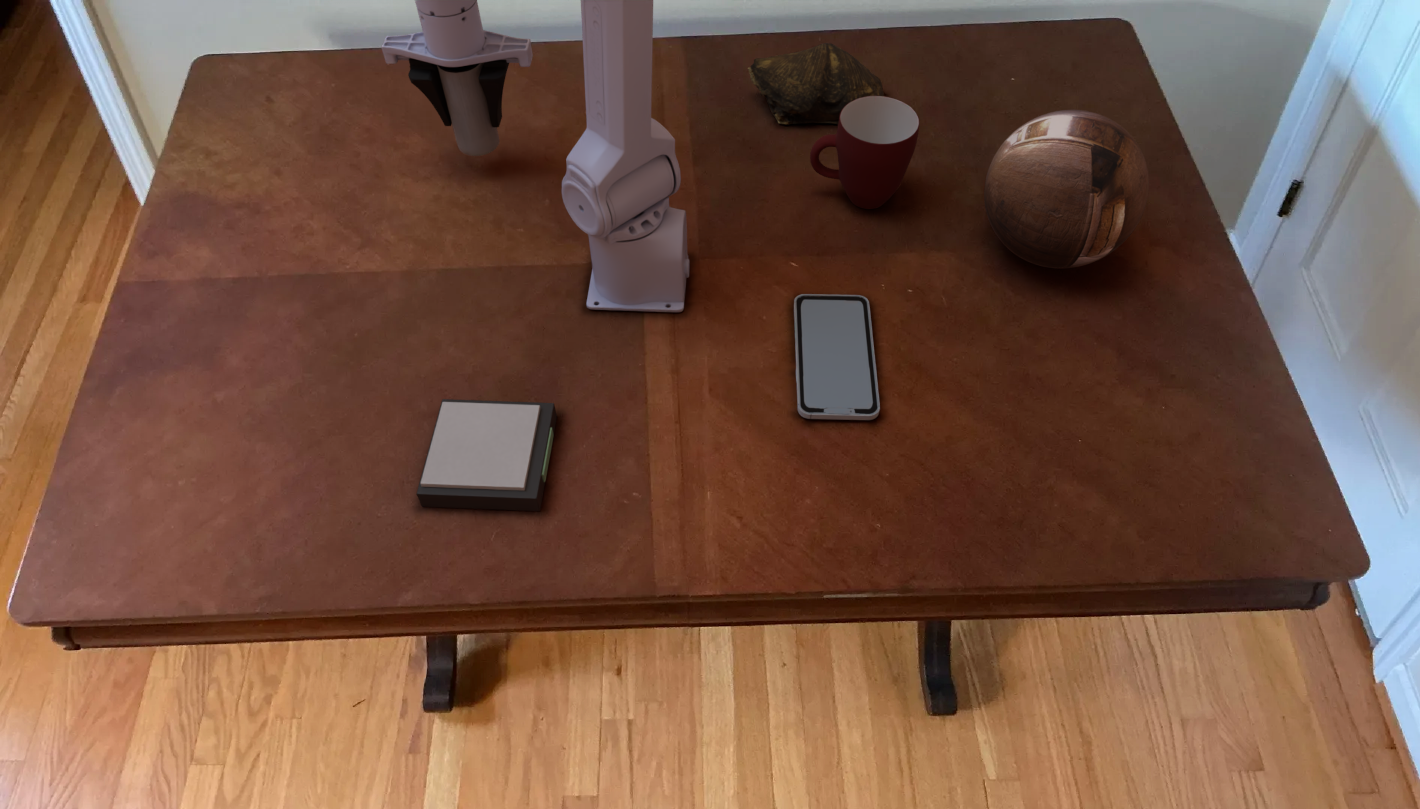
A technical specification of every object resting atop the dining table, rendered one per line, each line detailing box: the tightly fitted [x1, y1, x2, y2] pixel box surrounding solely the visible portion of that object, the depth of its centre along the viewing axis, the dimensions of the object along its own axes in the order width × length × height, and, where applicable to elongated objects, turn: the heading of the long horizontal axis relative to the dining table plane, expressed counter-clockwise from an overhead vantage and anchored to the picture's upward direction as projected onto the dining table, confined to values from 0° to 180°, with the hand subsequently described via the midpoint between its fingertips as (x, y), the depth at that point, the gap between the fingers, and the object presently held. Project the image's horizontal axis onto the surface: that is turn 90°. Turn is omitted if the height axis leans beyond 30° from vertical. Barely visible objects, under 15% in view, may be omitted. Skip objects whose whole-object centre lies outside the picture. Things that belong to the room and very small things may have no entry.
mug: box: [809, 95, 921, 210], centre depth 104 cm, size 11×8×10 cm
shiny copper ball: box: [983, 109, 1150, 269], centre depth 97 cm, size 15×15×15 cm
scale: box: [416, 398, 558, 512], centre depth 85 cm, size 10×10×2 cm
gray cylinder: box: [437, 63, 500, 157], centre depth 104 cm, size 4×4×10 cm
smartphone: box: [793, 293, 881, 421], centre depth 93 cm, size 7×1×15 cm
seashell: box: [746, 42, 885, 125], centre depth 115 cm, size 16×9×7 cm, turn 90°
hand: (473, 121), depth 106 cm, fingers closed on gray cylinder, 4 cm apart
